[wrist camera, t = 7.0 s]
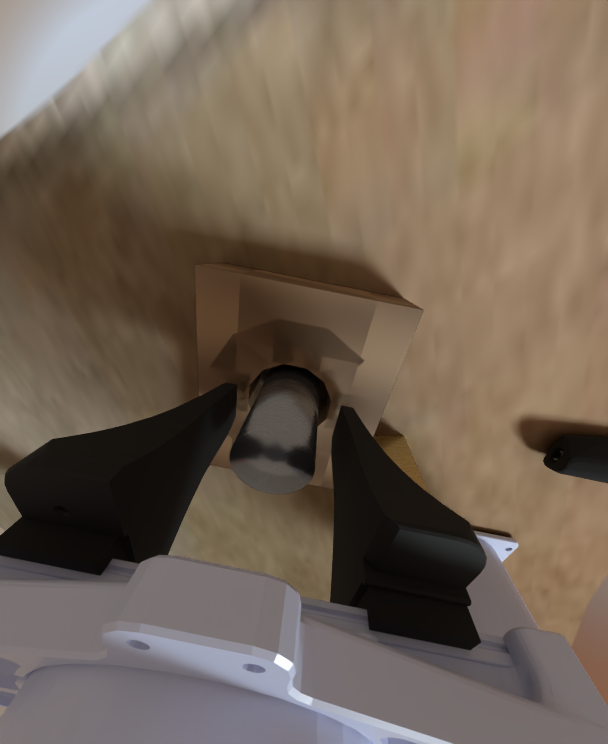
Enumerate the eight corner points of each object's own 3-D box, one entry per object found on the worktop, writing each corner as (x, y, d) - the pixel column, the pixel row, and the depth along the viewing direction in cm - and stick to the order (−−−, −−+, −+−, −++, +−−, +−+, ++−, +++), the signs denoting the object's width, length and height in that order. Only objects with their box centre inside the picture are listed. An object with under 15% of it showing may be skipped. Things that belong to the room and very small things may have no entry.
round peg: (313, 403, 16) (304, 501, 10) (266, 392, 16) (226, 483, 10) (326, 360, 14) (325, 442, 8) (274, 348, 14) (233, 420, 8)
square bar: (398, 470, 19) (421, 539, 14) (353, 469, 19) (361, 535, 14) (404, 435, 17) (431, 500, 13) (355, 435, 17) (364, 498, 13)
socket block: (347, 457, 18) (350, 492, 16) (219, 432, 18) (200, 462, 16) (403, 298, 13) (423, 309, 10) (222, 262, 13) (194, 265, 10)
